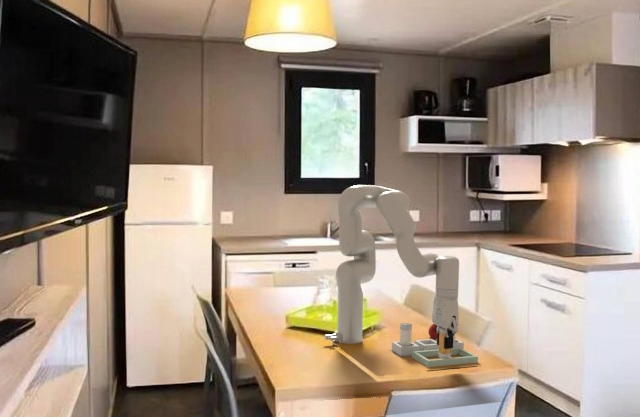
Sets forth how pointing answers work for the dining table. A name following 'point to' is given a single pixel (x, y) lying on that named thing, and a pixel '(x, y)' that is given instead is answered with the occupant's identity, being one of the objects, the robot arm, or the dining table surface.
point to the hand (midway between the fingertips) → (444, 346)
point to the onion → (433, 331)
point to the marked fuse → (442, 351)
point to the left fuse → (405, 334)
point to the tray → (465, 359)
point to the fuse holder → (420, 346)
